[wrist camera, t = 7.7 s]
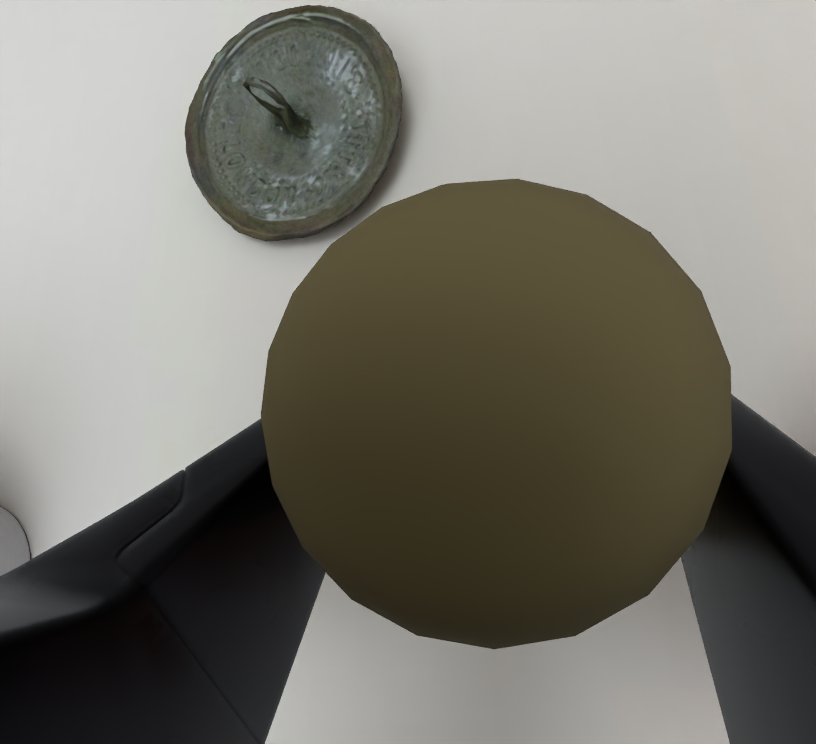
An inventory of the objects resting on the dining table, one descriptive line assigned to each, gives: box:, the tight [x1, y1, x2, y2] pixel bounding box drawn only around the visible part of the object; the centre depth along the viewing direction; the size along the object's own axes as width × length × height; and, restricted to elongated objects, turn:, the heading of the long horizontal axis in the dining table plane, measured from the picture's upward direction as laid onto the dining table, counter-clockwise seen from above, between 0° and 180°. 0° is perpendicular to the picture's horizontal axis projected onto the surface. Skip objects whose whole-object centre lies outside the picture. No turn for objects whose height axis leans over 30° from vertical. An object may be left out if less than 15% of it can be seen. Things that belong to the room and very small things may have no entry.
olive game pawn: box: [261, 179, 732, 649], centre depth 10 cm, size 6×6×11 cm
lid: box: [185, 5, 402, 241], centre depth 23 cm, size 11×10×5 cm
